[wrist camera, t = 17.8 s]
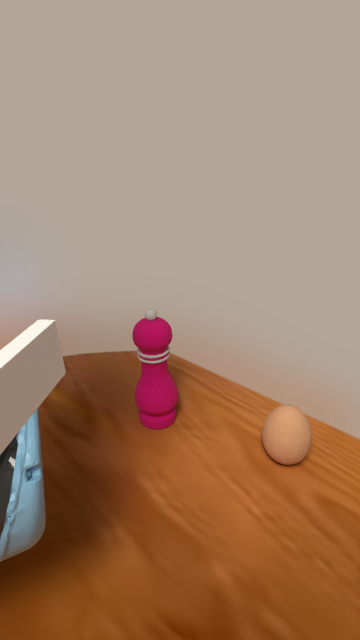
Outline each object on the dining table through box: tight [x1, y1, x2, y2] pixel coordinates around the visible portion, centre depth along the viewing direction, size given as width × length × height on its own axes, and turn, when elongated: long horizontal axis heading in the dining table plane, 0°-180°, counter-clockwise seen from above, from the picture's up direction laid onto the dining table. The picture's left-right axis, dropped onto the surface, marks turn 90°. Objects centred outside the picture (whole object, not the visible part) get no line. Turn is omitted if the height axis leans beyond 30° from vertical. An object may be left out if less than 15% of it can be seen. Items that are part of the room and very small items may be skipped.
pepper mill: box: [133, 309, 178, 429], centre depth 53 cm, size 7×7×20 cm
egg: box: [262, 404, 312, 465], centre depth 46 cm, size 7×7×9 cm
